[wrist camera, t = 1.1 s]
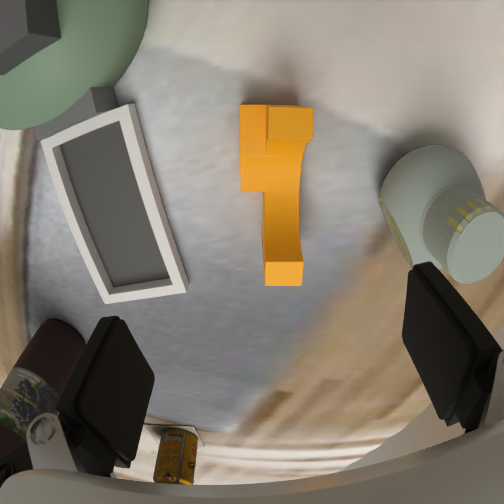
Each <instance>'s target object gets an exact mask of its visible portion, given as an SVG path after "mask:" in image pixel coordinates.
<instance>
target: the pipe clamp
mask: <svg viewBox="0 0 504 504" xmlns="http://www.w3.org/2000/svg"><path fill="white" fill-rule="evenodd" d="M313 114H314V109H313V108H308V107H304V106H299V105H274V104H241V105H240V171H241V192H263V236H262V248H263V264H264V280H265V286H301V284H302V275H303V264H304V261H303V256H302V251H301V243H300V230H299V187H300V173H301V165H302V158H303V153H304V150H305V147H306V144H307V142H308V141H309V140H310V141H312V138H313Z"/></svg>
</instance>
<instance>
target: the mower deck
mask: <svg viewBox="0 0 504 504" xmlns="http://www.w3.org/2000/svg"><path fill="white" fill-rule="evenodd" d="M147 17H148V0H0V128H2V129H7V130H20V129H26V128H29V127H33V130H34V134H35V138H36V141H38V140H41V139H44V138H47V137H49V138H47V139H45V140H43V141H41V144H42V147H43V151H44V154H45V157H46V161H47V164H48V167H49V170H50V173H51V176H52V179H53V182H54V185H55V188H56V191H57V194H58V197H59V200H60V202H61V205H62V208H63V210H64V213H65V216H66V218H67V221H68V223H69V226H70V228H71V231H72V233H73V236H74V238H75V241H76V243H77V245H78V248H79V250H80V252H81V255H82V257H83V259H84V261H85V264H86V266H87V268H88V270H89V272H90V274H91V276H92V279H93V281H94V283H95V285H96V287H97V289H98V291H99V293H100V295H101V297H102V299H103V301H104V303H105V304H109V303H116V302H123V301H131V300H138V299H145V298H152V297H159V296H165V295H172V294H179V293H185V292H187V289H188V285H189V281H188V279H187V276H186V273H185V270H184V267H183V264H182V261H181V259H180V256H179V253H178V250H177V247H176V244H175V241H174V238H173V235H172V232H171V229H170V226H169V222H168V219H167V216H166V213H165V210H164V207H163V204H162V200H161V197H160V194H159V190H158V187H157V184H156V180H155V177H154V174H153V170H152V167H151V163H150V160H149V156H148V153H147V149H146V145H145V142H144V138H143V134H142V131H141V127H140V123H139V119H138V115H137V111H136V107H135V103H133V104H127V105H124V106H121V107H119V108H118V106H117V102H116V98H115V94H114V90H113V86H114V85H115V84H116V83H117V82H118V80H119V79H120V78H121V77H122V75H123V74H124V73H125V71H126V70H127V68H128V67H129V65H130V63H131V62H132V60H133V58H134V56H135V54H136V52H137V50H138V48H139V45H140V43H141V41H142V38H143V35H144V31H145V28H146V23H147ZM50 136H51V137H50Z"/></svg>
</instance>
